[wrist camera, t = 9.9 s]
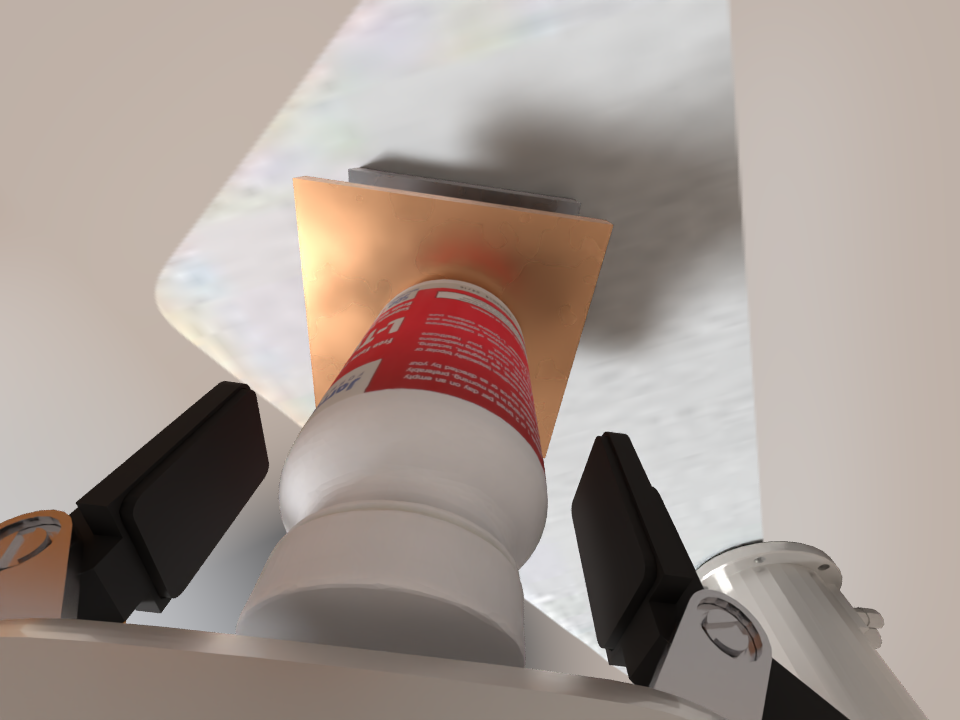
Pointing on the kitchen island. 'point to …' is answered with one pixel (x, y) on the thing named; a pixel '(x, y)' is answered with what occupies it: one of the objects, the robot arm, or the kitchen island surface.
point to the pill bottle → (413, 490)
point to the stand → (446, 264)
